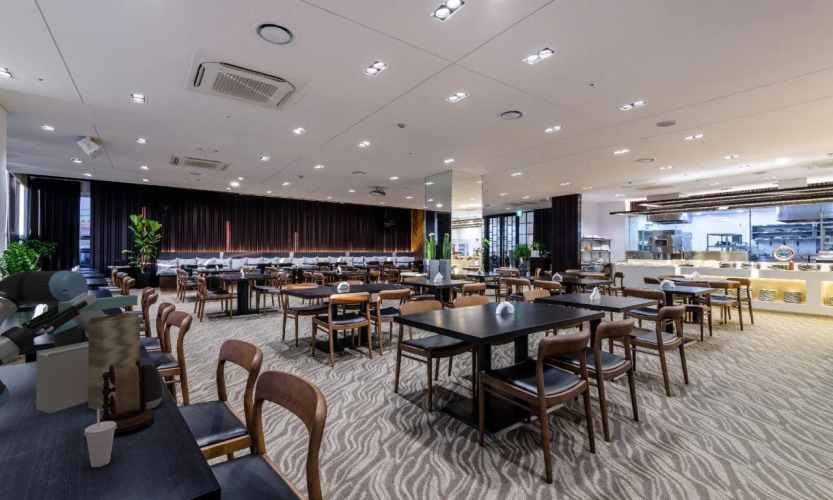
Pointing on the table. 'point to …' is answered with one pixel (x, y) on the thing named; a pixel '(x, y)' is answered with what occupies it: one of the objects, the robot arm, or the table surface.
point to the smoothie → (100, 441)
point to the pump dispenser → (153, 386)
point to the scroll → (126, 398)
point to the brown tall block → (110, 351)
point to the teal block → (103, 303)
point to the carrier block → (62, 377)
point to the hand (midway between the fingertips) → (91, 296)
